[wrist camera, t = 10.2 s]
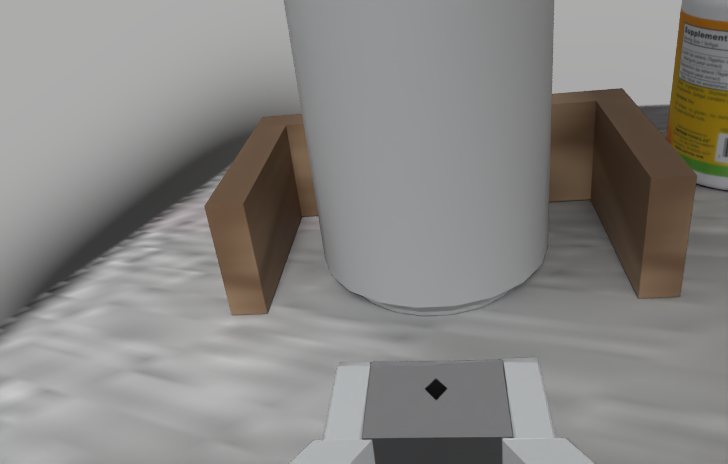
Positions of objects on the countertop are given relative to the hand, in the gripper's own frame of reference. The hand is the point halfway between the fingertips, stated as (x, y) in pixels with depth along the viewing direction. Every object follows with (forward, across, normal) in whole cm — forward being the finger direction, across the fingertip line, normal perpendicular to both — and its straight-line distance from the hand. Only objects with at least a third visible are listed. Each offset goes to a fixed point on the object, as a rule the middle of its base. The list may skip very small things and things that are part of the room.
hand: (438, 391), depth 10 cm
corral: (+13, 0, +5) cm, 14 cm away
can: (+12, 0, +5) cm, 13 cm away
